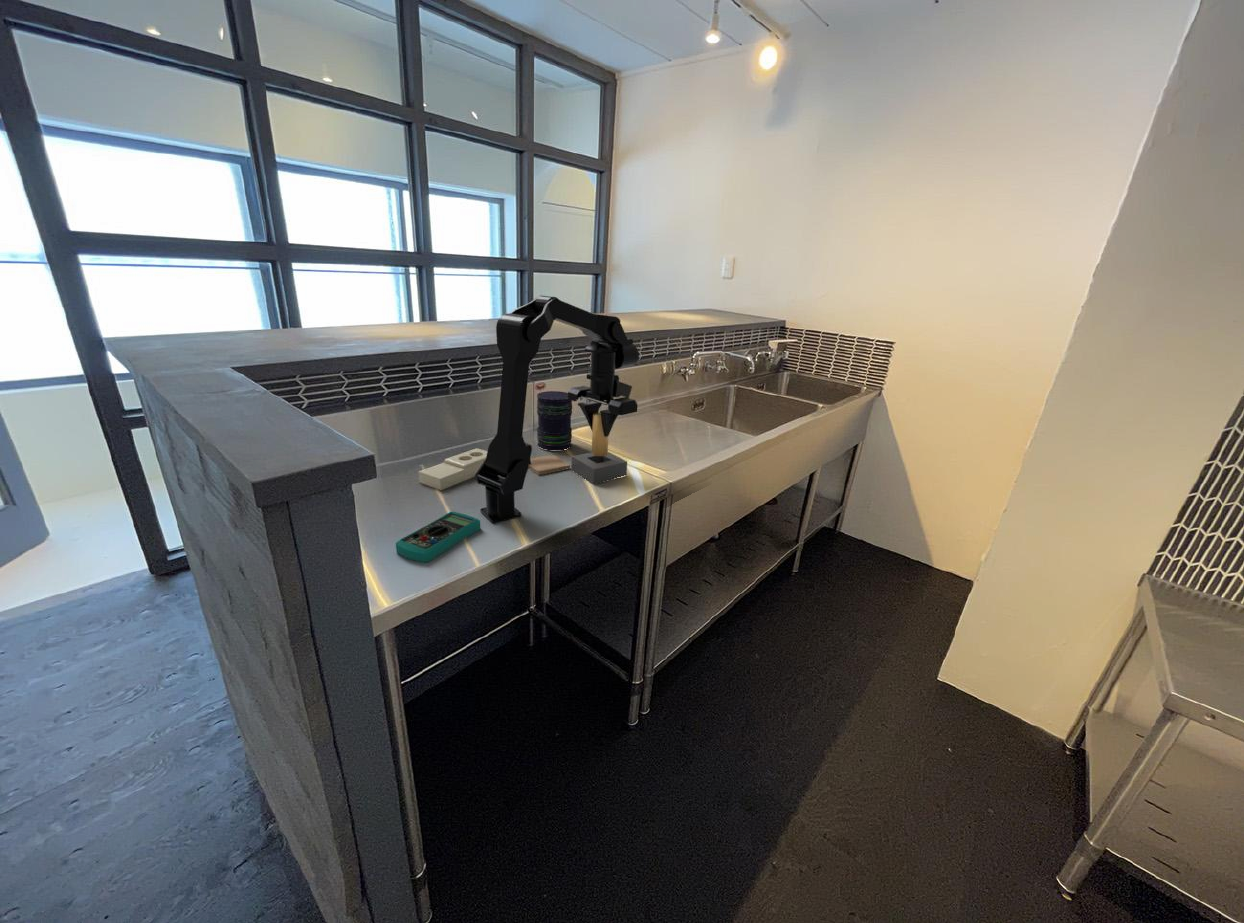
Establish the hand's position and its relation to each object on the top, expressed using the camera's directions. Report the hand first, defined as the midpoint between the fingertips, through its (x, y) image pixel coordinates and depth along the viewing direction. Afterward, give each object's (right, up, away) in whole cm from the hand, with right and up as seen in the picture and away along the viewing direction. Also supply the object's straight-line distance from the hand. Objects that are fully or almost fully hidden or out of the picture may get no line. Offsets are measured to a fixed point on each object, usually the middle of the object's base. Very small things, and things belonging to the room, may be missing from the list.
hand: (600, 434), depth 124 cm
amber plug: (0, -5, +2) cm, 5 cm away
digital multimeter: (-28, -22, -30) cm, 47 cm away
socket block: (-1, -10, +4) cm, 11 cm away
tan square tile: (-14, -8, +7) cm, 18 cm away
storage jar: (-14, -2, +22) cm, 26 cm away
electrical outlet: (-34, -10, -1) cm, 36 cm away
